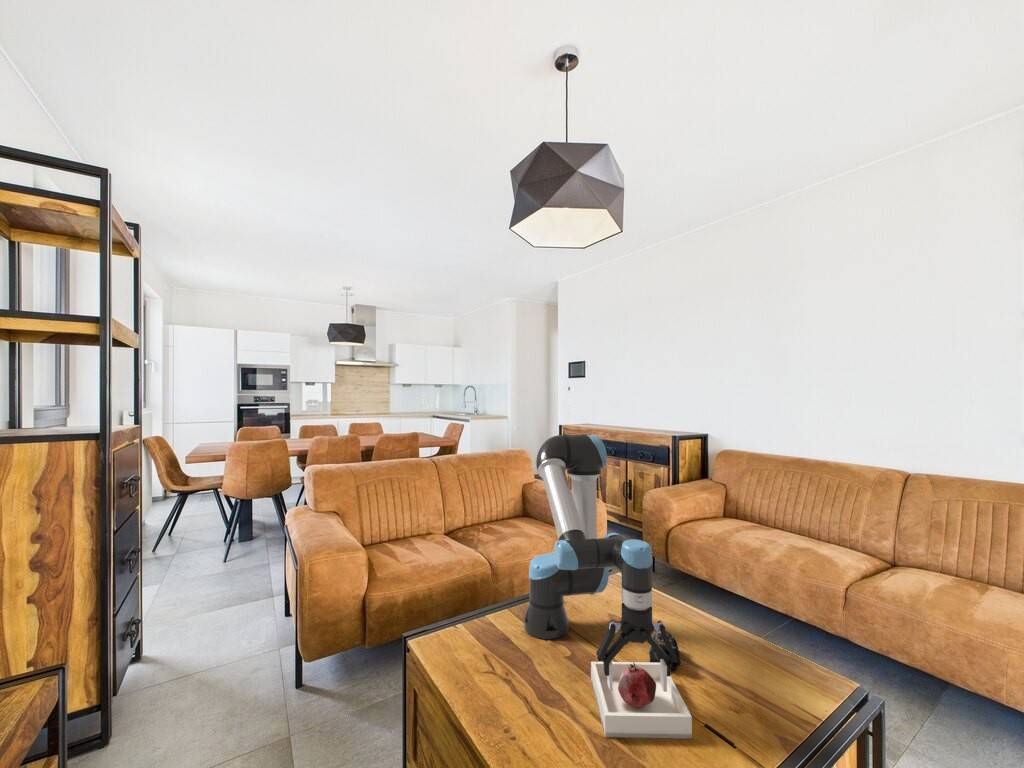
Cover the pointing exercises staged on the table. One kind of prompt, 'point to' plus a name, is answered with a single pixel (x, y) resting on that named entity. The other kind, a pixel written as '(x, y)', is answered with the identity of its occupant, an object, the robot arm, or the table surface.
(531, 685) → the table surface
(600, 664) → the dish
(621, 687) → the fruit
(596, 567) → the robot arm
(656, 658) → the figurine
